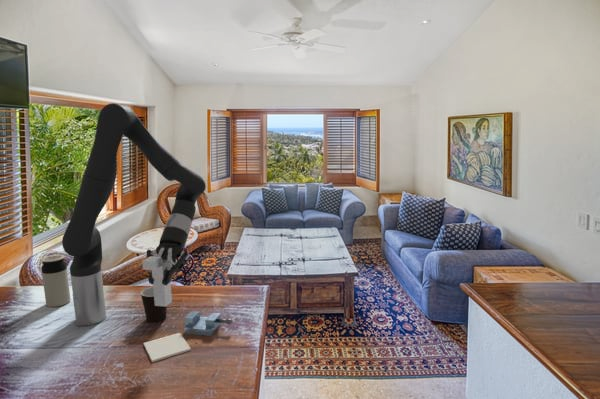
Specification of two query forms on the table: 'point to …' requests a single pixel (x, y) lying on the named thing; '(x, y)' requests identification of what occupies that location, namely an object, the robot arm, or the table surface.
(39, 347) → the table surface
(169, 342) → the felt pad
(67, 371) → the table surface
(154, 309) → the coffee mug
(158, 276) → the brushed aluminum pillar
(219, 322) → the vise
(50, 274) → the travel mug
